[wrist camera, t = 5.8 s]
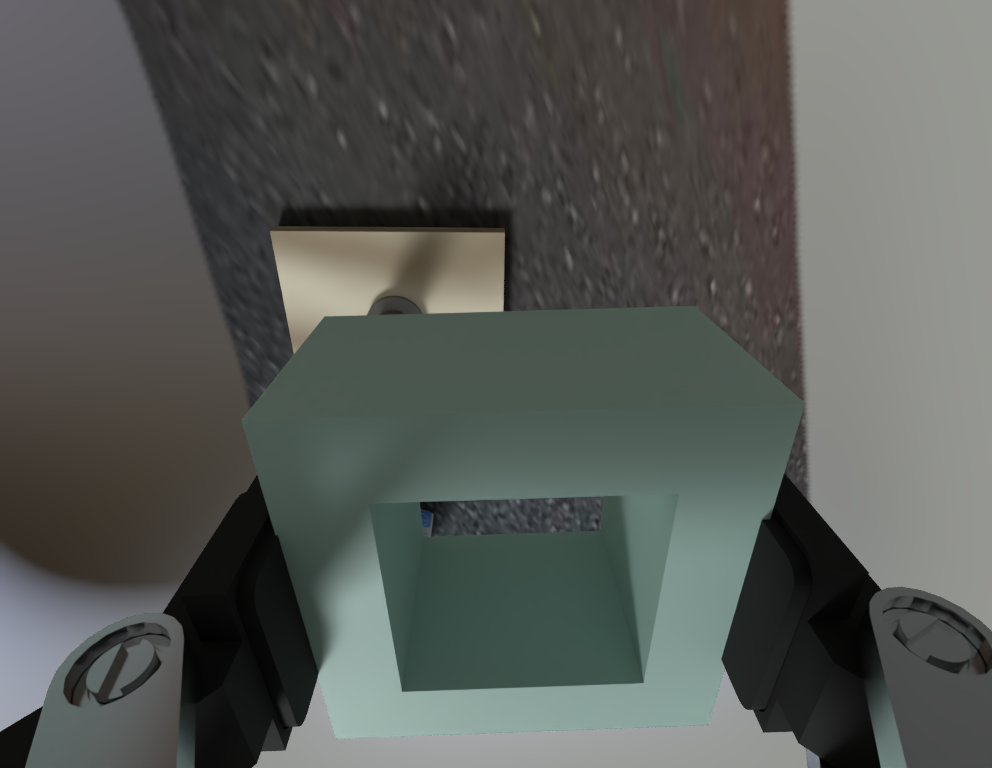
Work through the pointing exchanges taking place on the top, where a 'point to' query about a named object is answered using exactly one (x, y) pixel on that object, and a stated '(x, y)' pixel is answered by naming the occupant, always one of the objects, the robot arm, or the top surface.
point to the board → (386, 272)
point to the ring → (520, 475)
